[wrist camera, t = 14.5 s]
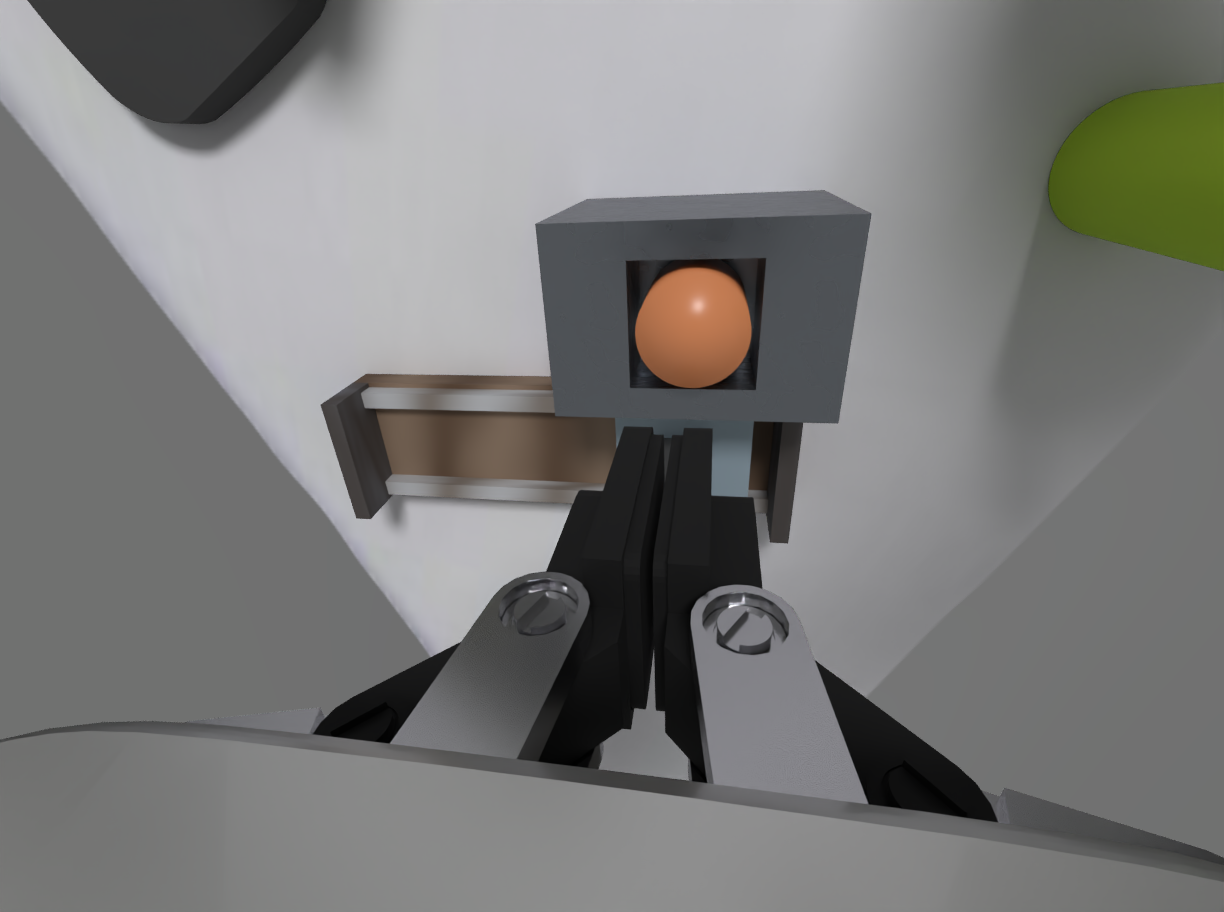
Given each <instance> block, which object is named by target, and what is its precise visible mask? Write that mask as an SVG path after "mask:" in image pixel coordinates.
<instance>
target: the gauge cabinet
mask: <svg viewBox="0 0 1224 912" xmlns="http://www.w3.org/2000/svg"><path fill="white" fill-rule="evenodd" d="M870 219H871V213H869V212H867V211H865V210H863V209H861V208H859V207H857V206H855V205H853V204H851V203H849V202H847V201H845V200H843V199H841V198H839V197H837V196H835V195H833V194H831V193H829V192H827V191H825V190H821V191H794V192H767V193H740V194H713V195H687V196H660V197H633V198H606V199H586V200H584V201H582V202H580V203H578V204H576V205H574V206H572V207H570V208H568V209H566V210H563V211H561V212H559V213H557V214H555V215H553V216H551V217H549V218H547V219H545V220H543V221H540V222H538V223H536V224H535V225H536V234H537V244H538V254H539V263H540V273H541V283H542V292H543V302H544V312H545V321H546V331H547V341H548V350H549V360H550V370H551V379H552V389H553V399H554V409H555V416H566V417H605V418H645V419H685V420H724V421H764V422H804V423H838V421H839V415H840V409H841V402H842V396H843V390H844V383H845V377H846V371H847V364H848V358H849V352H850V345H851V339H852V333H853V326H854V320H855V314H856V307H857V301H858V295H859V288H860V282H861V276H862V270H863V263H864V257H865V251H866V244H867V238H868V232H869V225H870ZM686 259H719V260H721V261H723V262H725V263H726V264H728V265H729V266H730V267H731V268H732V269H733V270H734V271H735V272H736V273H737V275H738V276H739V278H740V279H741V281H742V284H743V286H744V289H745V293H746V298H747V304H748V309H749V314H750V320H751V341H750V345H749V348H748V351H747V353H746V356H745V357H744V359H743V361H742V362H741V364H740V365H739V366H738V367H737V369H736V370H735V371H734V372H733V373H731V374H730V375H729V376H728V377H726V378H725V379H723V380H721V381H720V382H717V383H715V384H713V385H709V386H706V387H700V388H684V387H679V386H675V385H672V384H670V383H667V382H665V381H663V380H662V379H660V378H659V377H657V376H656V375H655V374H654V373H652V372H651V370H650V369H649V368H648V367H647V366H646V364H645V363H644V362H643V360H642V358H641V356H640V354H639V351H638V348H637V344H636V337H635V327H636V321H637V317H638V314H639V311H640V309H641V307H642V305H643V302H644V300H645V298H646V296H647V293H648V291H649V289H650V287H651V285H652V282H653V281H654V279H655V277H656V276H657V275H658V274H659V272H660V271H661V270H662V269H663V268H664V267H665V266H667V265H668V264H670V263H671V262H673V261H675V260H686Z"/></svg>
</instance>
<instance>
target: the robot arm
mask: <svg viewBox="0 0 1224 912" xmlns="http://www.w3.org/2000/svg"><path fill="white" fill-rule="evenodd" d="M712 442H713V428H684V431H683V435H672V440H671V446H670V453H669V459H668V466H667V472H666V478H665V469H664V435H656V434H654V431H653V427H634V426H624V428H623V431H622V434H621V437H620V440H619V443H618V446H617V449H616V452H615V455H614V458H613V461H612V464H611V467H610V471H609V474H608V477H607V480H606V483H605V486H604V489H603V491H596V490H580V491H578V493H577V495H576V497H575V500H574V503H573V505H572V508H571V510H570V513H569V515H568V518H567V520H566V523H565V525H564V528H563V530H562V533H561V535H560V538H559V541H558V543H557V546H556V548H555V551H554V553H553V556H552V558H551V561H550V563H549V566H548V568H547V571H546V572H538V573H531V574H527V575H524V576H522V577H519V578H516V579H514V580H512V581H511V582H509V583H508V584H506V585H504V586H503V587H502V588H501V589H500V590H499V591H498V592H497V593H496V594H495V595H494V596H493V598H492V599H491V600H490V602H489V603H488V605H487V606H486V608H485V609H484V610H483V612H482V613H481V615H480V616H479V618H478V619H477V620H476V622H475V623H474V625H473V626H472V627H471V629H470V630H469V632H468V633H467V635H466V636H465V637H464V639H463V640H462V642H460V643H458V644H456V645H454V646H452V647H450V648H448V649H446V650H444V651H442V652H440V653H438V654H436V655H434V656H433V657H431V658H429V659H427V660H425V661H423V662H421V663H419V664H417V665H415V666H413V667H411V668H409V669H407V670H405V671H403V672H401V673H399V674H397V675H395V676H393V677H391V678H390V679H388V680H386V681H384V682H382V683H380V684H378V685H376V686H374V687H372V688H370V689H368V690H366V691H364V692H362V693H360V694H358V695H356V696H354V697H352V698H351V699H349V700H348V701H346V702H344V703H343V704H341V705H340V706H338V707H336V708H335V709H334V710H333V711H332V712H331V713H330V714H329V715H324V714H323V712H322V710H321V708H311V709H301V710H291V711H282V712H273V713H262V714H253V715H243V716H234V717H224V718H214V719H205V720H195V721H188V722H184V723H183V722H163V721H131V722H130V721H127V722H100V723H92V724H83V725H74V726H67V727H57V728H49V729H44V730H40V731H36V732H31V733H27V734H23V735H18V736H14V737H9V738H5V739H0V912H1224V858H1223V857H1221V856H1218V855H1216V854H1214V853H1212V852H1209V851H1207V850H1204V849H1201V848H1198V847H1195V846H1191V845H1188V844H1185V843H1182V842H1179V841H1175V840H1172V839H1169V838H1166V837H1162V836H1159V835H1156V834H1152V833H1149V832H1146V831H1143V830H1140V829H1136V828H1133V827H1130V826H1127V825H1124V824H1120V823H1117V822H1114V821H1111V820H1107V819H1104V818H1101V817H1098V816H1094V815H1091V814H1088V813H1085V812H1081V811H1078V810H1075V809H1071V808H1069V807H1065V806H1062V805H1059V804H1056V803H1052V802H1049V801H1046V800H1042V799H1040V798H1036V797H1033V796H1030V795H1027V794H1023V793H1020V792H1017V791H1014V790H1010V789H1007V788H1004V789H1003V791H1002V793H1001V795H1000V796H997V795H994V794H991V793H988V792H985V791H982V790H980V788H979V787H978V785H977V784H976V783H975V782H974V781H973V780H972V779H971V778H969V776H967V775H966V774H965V773H964V772H963V771H962V770H961V769H960V768H959V767H958V766H956V765H955V764H954V763H952V762H951V761H949V760H948V759H947V758H946V757H944V756H943V755H942V754H940V753H939V752H938V751H936V750H935V749H934V748H932V747H931V746H930V745H928V744H927V743H925V742H924V741H923V740H921V739H920V738H919V737H917V736H916V735H915V734H913V733H912V732H911V731H909V730H908V729H907V728H905V727H904V726H903V725H901V724H900V723H899V722H897V721H896V720H894V719H893V718H892V717H891V716H889V715H888V714H886V713H885V712H884V711H882V710H881V709H880V708H878V707H877V706H875V705H874V704H873V703H872V702H870V701H869V700H868V699H866V698H865V697H864V696H862V695H861V694H860V693H858V692H857V691H856V690H854V689H853V688H852V687H850V686H849V685H848V684H846V683H845V682H844V681H842V680H841V679H839V678H838V677H837V676H835V675H834V674H833V673H831V672H830V671H829V670H827V669H826V668H825V667H823V666H822V665H821V664H819V663H818V662H817V661H815V659H814V657H813V654H812V651H811V649H810V646H809V643H808V641H807V638H806V635H805V633H804V630H803V627H802V625H801V622H800V619H799V618H798V616H797V614H796V613H795V611H794V609H793V608H792V607H791V606H790V605H789V604H788V603H787V602H786V601H784V600H783V599H782V598H781V597H779V596H777V595H775V594H773V593H772V592H770V591H768V590H765V589H762V580H761V569H760V559H759V548H758V537H757V527H756V516H755V505H754V498H753V497H735V496H712V495H711V486H712ZM653 651H654V659H655V699H656V710H657V711H665V733H666V734H667V735H668V736H669V737H670V738H671V739H672V740H673V741H674V743H675V744H676V745H677V746H678V747H679V748H680V749H681V750H682V751H683V752H684V754H685V755H686V756H687V757H688V777H689V781H686V780H678V779H670V778H662V777H654V776H646V775H638V774H631V773H623V772H615V771H607V770H599V766H600V763H601V760H602V754H603V749H604V746H603V741H605V740H606V739H608V738H609V737H611V736H612V735H613V734H615V733H616V732H618V731H619V730H621V729H631V726H632V719H633V712H634V708H638V709H646V706H647V699H648V691H649V683H650V675H651V667H652V659H653Z"/></svg>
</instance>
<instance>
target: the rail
mask: <svg viewBox="0 0 1224 912" xmlns="http://www.w3.org/2000/svg"><path fill="white" fill-rule="evenodd" d="M321 408H322V411H323V414H324V417H325V420H326V423H327V427H328V430H329V433H330V436H331V439H332V442H333V446H334V449H335V452H336V455H337V458H338V461H339V465H340V468H341V471H342V474H343V477H344V480H345V484H346V487H347V490H348V493H349V496H350V499H351V503H352V506H353V509H354V512H355V515H356V518H360V519H371V518H372V517H373V516H374V515H375V514H376V513H377V512H378V510H379V509H380V508H381V507H382V506H383V505H384V504H385V503H386V502H387V501H388V499H389V498H390V497H391V496H392V495H412V496H432V497H452V498H472V499H492V500H511V501H531V502H551V503H571V504H573V503H574V500H575V497H576V495H577V493H578V491H580V490H596V491H603V489H604V486H605V483H606V480H607V477H608V474H609V471H610V467H611V464H612V461H613V458H614V455H615V452H616V449H617V447H616V427H615V418H605V417H566V416H555V409H554V399H553V389H552V379H551V377H540V376H468V375H395V374H366V375H364V376H363V377H361V378H360V379H358V380H357V381H355V382H354V383H352V384H351V385H349V386H348V387H346V388H345V389H343V390H342V391H340V392H339V393H337V394H336V395H334V396H333V397H331V398H330V399H328V400H327V401H326V402H324V403H323V404H321ZM802 428H803V422H764V421H754V425H753V437H752V450H751V463H750V475H749V488H748V497H753V498H754V505H755V513H766V516H767V523H768V531H769V538H770V542H773V543H788V540H789V532H790V524H791V516H792V508H793V500H794V492H795V484H796V476H797V468H798V460H799V452H800V444H801V436H802Z"/></svg>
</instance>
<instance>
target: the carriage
mask: <svg viewBox="0 0 1224 912" xmlns="http://www.w3.org/2000/svg"><path fill="white" fill-rule="evenodd" d="M753 425H754V421H724V420H685V419H645V418H615V427H616V447H617V446H618V443H619V440H620V437H621V434H622V431H623V428H624V426H634V427H653V431H654V434H656V435H664V469H665V478H666V472H667V466H668V459H669V453H670V446H671V440H672V435H683V431H684V428H713V442H712V486H711V495H712V496H735V497H748V488H749V475H750V463H751V450H752V437H753Z"/></svg>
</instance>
